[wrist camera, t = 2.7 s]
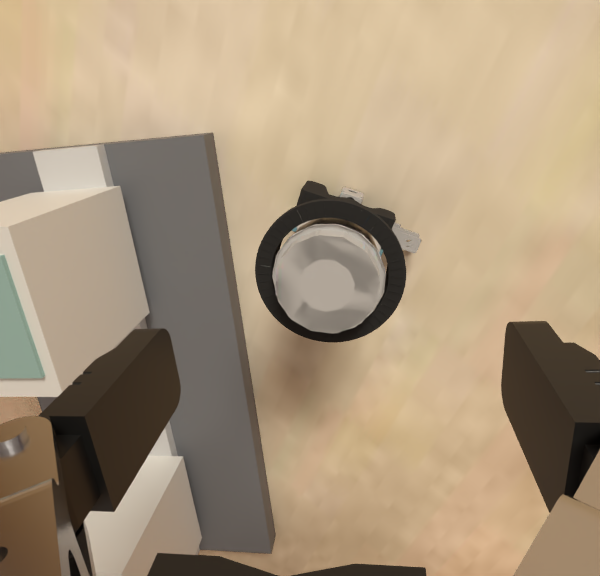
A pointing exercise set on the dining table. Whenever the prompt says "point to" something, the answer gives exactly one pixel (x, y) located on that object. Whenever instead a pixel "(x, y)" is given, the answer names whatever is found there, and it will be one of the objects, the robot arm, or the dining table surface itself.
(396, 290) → the push button
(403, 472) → the dining table surface
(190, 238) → the rail board
